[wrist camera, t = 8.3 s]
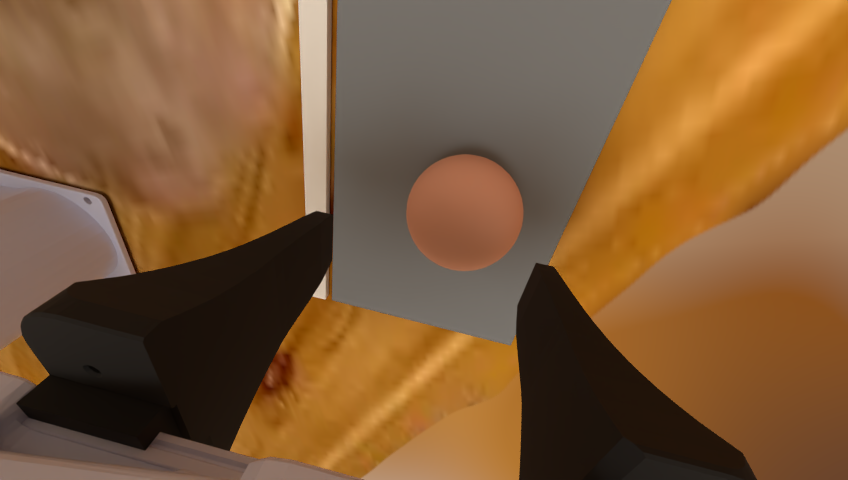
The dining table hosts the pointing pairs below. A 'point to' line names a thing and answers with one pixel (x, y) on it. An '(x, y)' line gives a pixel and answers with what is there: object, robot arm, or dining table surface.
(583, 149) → the mat
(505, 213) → the ball
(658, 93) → the dining table surface
